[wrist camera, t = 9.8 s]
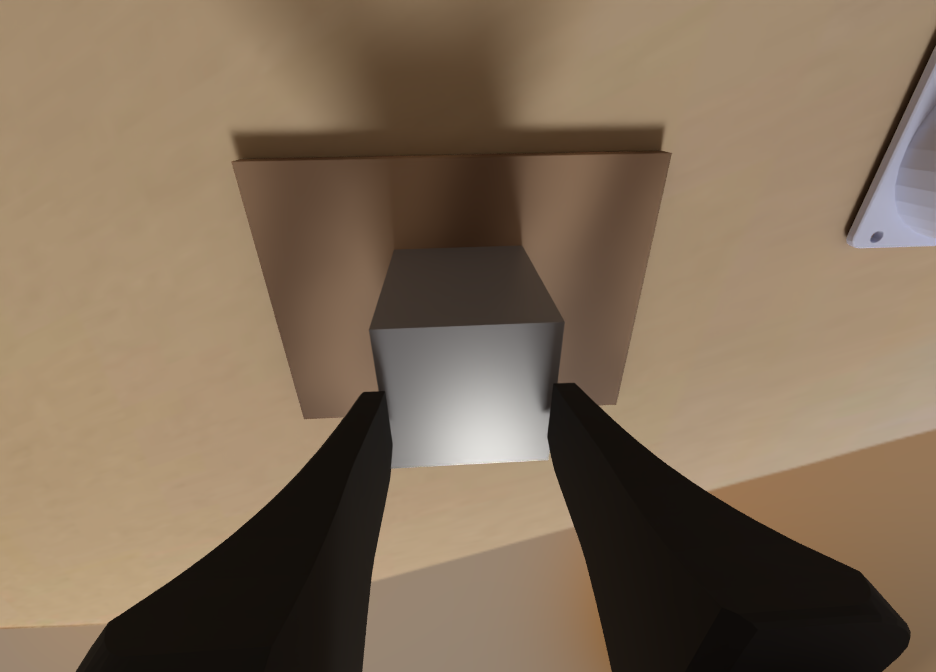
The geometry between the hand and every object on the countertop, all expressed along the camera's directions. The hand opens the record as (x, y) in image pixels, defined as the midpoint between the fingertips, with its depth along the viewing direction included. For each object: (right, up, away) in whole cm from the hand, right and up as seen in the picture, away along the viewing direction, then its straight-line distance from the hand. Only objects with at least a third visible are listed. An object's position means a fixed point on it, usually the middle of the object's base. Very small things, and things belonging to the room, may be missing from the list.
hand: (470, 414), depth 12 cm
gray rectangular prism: (0, +4, +6) cm, 7 cm away
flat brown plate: (0, +4, +7) cm, 8 cm away
